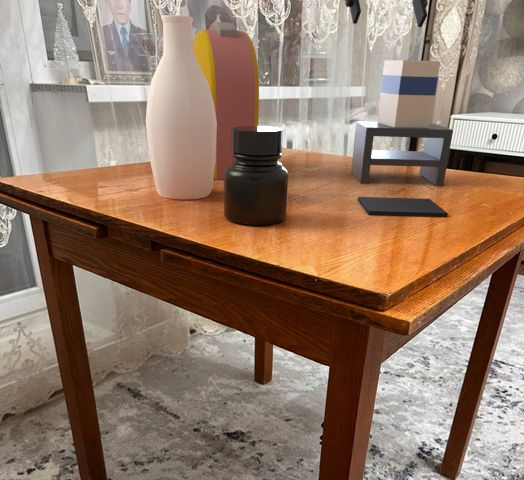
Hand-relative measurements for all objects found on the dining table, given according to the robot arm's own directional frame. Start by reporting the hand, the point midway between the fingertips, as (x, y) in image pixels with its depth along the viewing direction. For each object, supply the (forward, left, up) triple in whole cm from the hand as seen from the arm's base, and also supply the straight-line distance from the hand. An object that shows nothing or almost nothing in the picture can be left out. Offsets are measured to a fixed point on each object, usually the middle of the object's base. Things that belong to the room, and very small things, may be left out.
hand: (390, 19), depth 105 cm
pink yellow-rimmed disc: (+32, +6, -28) cm, 43 cm away
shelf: (-3, +11, -28) cm, 30 cm away
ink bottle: (+25, +46, -28) cm, 59 cm away
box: (-3, +11, -18) cm, 21 cm away
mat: (+2, +37, -28) cm, 46 cm away
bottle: (+37, +31, -28) cm, 56 cm away
